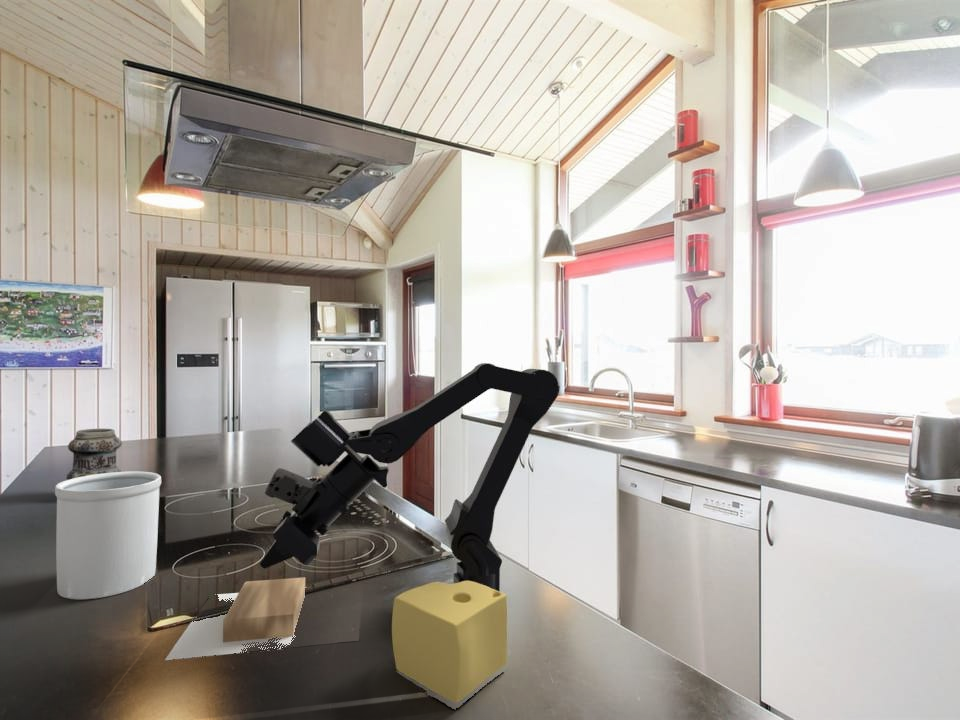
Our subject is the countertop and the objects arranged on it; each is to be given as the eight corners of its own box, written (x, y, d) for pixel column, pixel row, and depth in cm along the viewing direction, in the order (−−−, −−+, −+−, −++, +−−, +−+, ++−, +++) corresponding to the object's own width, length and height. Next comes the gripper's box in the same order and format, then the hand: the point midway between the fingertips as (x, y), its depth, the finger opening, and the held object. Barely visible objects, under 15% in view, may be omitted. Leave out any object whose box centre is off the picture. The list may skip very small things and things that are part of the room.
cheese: (448, 642, 71) (448, 569, 71) (511, 673, 64) (512, 593, 64) (390, 678, 63) (390, 596, 63) (455, 718, 56) (456, 626, 56)
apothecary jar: (129, 494, 143) (129, 429, 143) (78, 504, 133) (78, 434, 133) (109, 487, 150) (109, 425, 149) (58, 497, 139) (59, 430, 139)
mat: (363, 586, 87) (363, 583, 87) (359, 644, 70) (359, 641, 70) (209, 598, 83) (209, 594, 83) (164, 664, 65) (164, 660, 65)
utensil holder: (143, 557, 99) (144, 466, 99) (174, 579, 89) (174, 479, 89) (44, 583, 87) (45, 480, 87) (67, 611, 78) (68, 496, 78)
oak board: (305, 577, 83) (245, 581, 81) (293, 614, 71) (223, 620, 69) (305, 595, 83) (245, 600, 81) (293, 635, 71) (222, 642, 69)
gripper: (308, 440, 86) (237, 510, 84) (290, 464, 67) (198, 553, 65) (357, 486, 87) (288, 555, 85) (352, 520, 69) (264, 610, 67)
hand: (262, 565), depth 76 cm, fingers closed
